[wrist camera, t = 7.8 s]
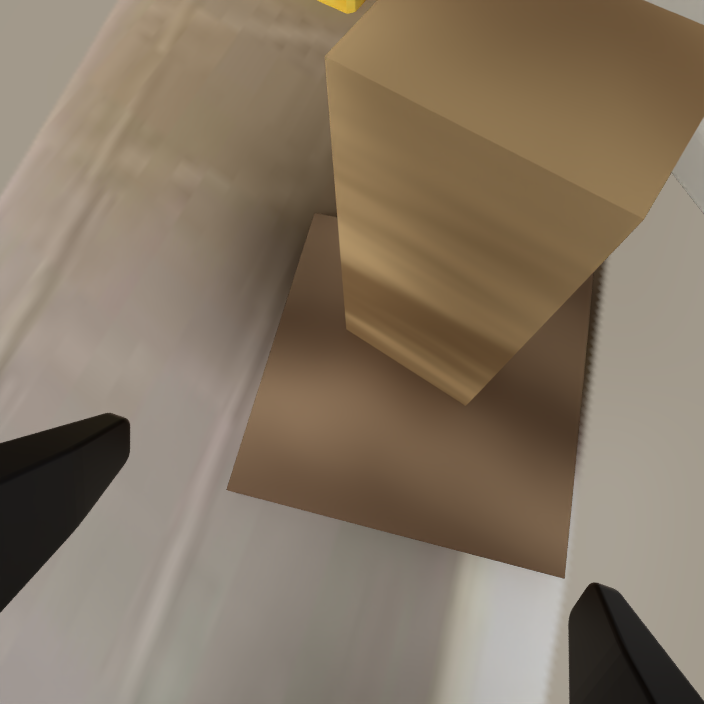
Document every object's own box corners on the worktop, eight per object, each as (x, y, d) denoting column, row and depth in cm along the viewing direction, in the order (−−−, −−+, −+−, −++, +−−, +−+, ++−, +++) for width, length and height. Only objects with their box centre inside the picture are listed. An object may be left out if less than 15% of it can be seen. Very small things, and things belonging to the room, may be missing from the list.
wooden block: (465, 405, 18) (643, 219, 7) (346, 328, 19) (324, 56, 8) (523, 315, 19) (757, 24, 8) (407, 247, 20) (466, -94, 9)
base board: (553, 575, 17) (564, 578, 16) (233, 491, 18) (226, 489, 17) (583, 280, 21) (594, 269, 20) (316, 225, 22) (314, 212, 21)
